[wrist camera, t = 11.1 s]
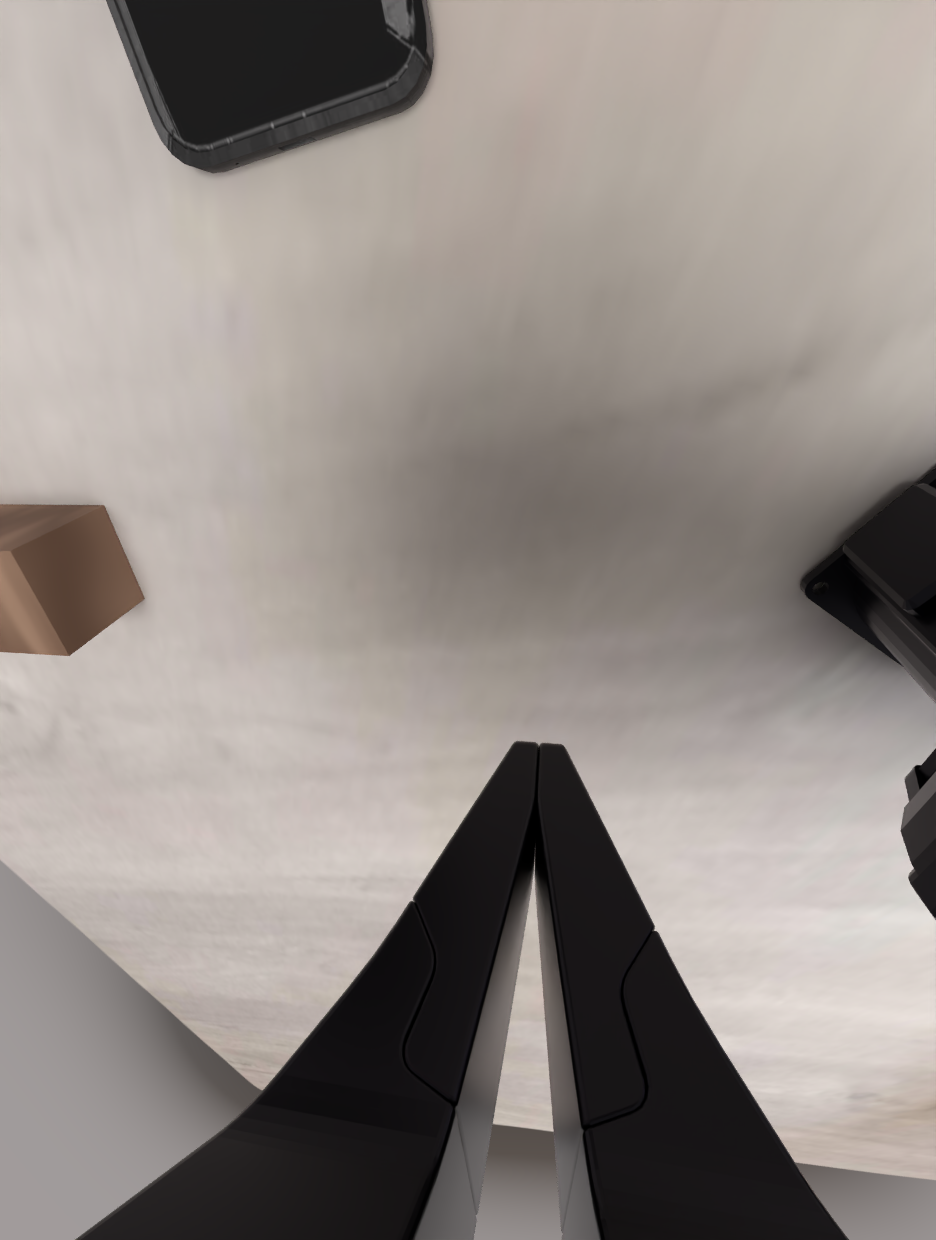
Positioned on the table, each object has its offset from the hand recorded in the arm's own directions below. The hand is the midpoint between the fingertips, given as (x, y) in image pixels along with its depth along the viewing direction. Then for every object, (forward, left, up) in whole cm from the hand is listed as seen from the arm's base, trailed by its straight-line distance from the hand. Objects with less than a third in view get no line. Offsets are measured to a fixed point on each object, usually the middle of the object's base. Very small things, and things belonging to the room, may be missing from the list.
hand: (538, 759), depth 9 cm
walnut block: (+14, +12, -10) cm, 21 cm away
